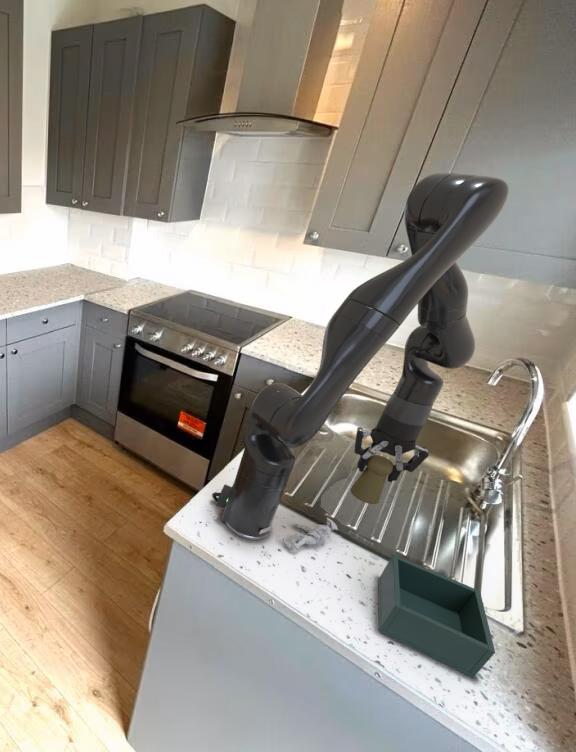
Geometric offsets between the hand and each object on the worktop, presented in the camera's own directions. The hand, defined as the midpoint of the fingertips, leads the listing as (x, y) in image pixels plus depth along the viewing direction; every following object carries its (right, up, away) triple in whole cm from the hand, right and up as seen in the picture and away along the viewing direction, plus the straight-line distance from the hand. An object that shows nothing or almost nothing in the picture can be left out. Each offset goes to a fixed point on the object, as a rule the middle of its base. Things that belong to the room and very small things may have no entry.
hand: (374, 474), depth 101 cm
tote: (-11, -20, -26) cm, 35 cm away
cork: (0, -6, +3) cm, 7 cm away
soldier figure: (-23, -11, -11) cm, 28 cm away
